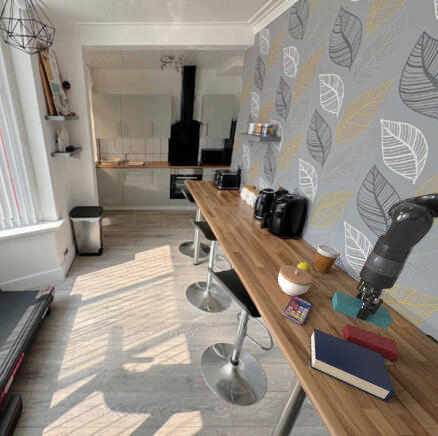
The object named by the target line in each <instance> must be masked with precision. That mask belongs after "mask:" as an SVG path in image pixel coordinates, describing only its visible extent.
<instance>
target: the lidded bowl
mask: <svg viewBox="0 0 438 436" xmlns="http://www.w3.org/2000/svg"><path fill="white" fill-rule="evenodd" d="M277 281H278V285H279V286H280V288H281V290H282V291H283V293H286V294H287V295H289V296H292V297H293V296H298V297H299V296H302V295H304V294H305V293H307V292H308V291H309V290H310V288H311V286H312V284H313V283H314V278H313V276H312V274H310V273H308V272H307V271H305V270H303V269H301V268H298V267H297V266H294V265H283V266H281V267H280V269H279V273H278V278H277Z"/></svg>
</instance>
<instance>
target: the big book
mask: <svg viewBox="0 0 438 436" xmlns="http://www.w3.org/2000/svg"><path fill="white" fill-rule="evenodd" d="M309 350H310V368H311V369H313V370H316V371H317V372H319V373H321V374H324V375H325V376H326V375H327V376H329V377H330V378H333V379H335V380H337V381H339V382H341V383H344V384H346V385H348V386H350V387H352V388H354V389H357V390H359V391H361V392H363V393H365V394H368V395H370V396H372V397H374V398H377V399H379V400H380V401H383V402H385V403H389V402H390V400H391V399H392V398H393V397H394V395H395V394H396V392H395V391H396V390H395V388H394V385H393V383H392V379H391V376H390V374H389V370H388V368H387V365H386V361H385V358H384V357H383V355H382V354H379V353H377V352H374V351H371V350H369V349H366V348H364V347H361V346H359V345H356V344H353V343H351V342H348V341H346V340H344V338H341V337H338V336H335V335H332V334H330V333H327V332H325V331H322V330H320V329H317V328H315V327H314V328H313V332H312V335H311V336H309Z"/></svg>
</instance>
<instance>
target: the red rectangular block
mask: <svg viewBox="0 0 438 436" xmlns="http://www.w3.org/2000/svg"><path fill="white" fill-rule="evenodd" d="M342 334H343V340H346V341H348V342H351V343H353V344H356V345H359V346H361V347H364V348H366V349H369V350H371V351H374V352H377V353H379V354H382V355H383V358H384V359H387V360H389V361H392V362H396V360H397V359H398V358H399V357H400V354H401V353H400V352H399V349H398V347H397V344H396V342H395V340H393V339H391V338H388V337H385V336H382V335H380V334H377V333H375V332H371V331H368V330H366V329H363V328H360V327H357V326H355V325H352V324H350V323H345V325H344V327H343V329H342Z"/></svg>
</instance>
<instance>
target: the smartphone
mask: <svg viewBox="0 0 438 436" xmlns="http://www.w3.org/2000/svg"><path fill="white" fill-rule="evenodd" d="M312 308H313V303H312V302H310V301H308V300H306V299H304V298H301V297H299V295H298V296H292V297H291V299H290V300H289V301H288V303H287V305H286V306H285V308H284V310H283V312H282V314H283V316H285V317H287V318H289V319H290V320H292V321H294V322H295V323H297V324H299V325H304V324H305V322H306V320H307V318H308V316H309V314H310V312H311V310H312Z"/></svg>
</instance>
